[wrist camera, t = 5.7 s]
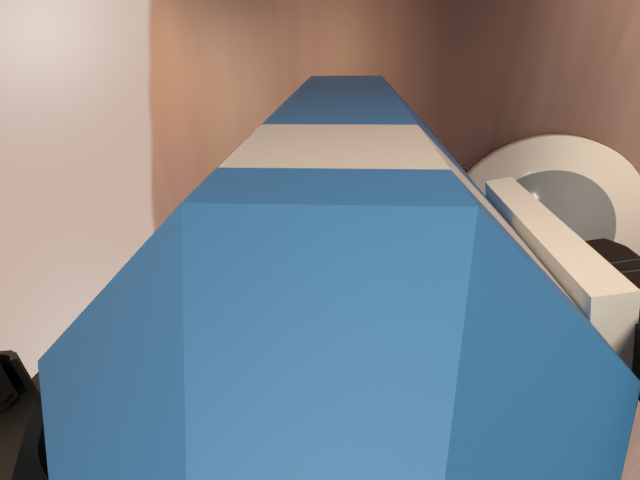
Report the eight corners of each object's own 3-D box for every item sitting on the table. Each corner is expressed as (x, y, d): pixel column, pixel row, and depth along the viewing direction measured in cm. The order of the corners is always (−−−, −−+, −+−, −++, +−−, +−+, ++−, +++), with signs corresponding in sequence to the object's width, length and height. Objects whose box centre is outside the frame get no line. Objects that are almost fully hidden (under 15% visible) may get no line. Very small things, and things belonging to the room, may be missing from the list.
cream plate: (428, 155, 36) (430, 158, 34) (648, 114, 33) (659, 117, 32) (447, 325, 42) (450, 333, 40) (635, 300, 39) (643, 308, 38)
